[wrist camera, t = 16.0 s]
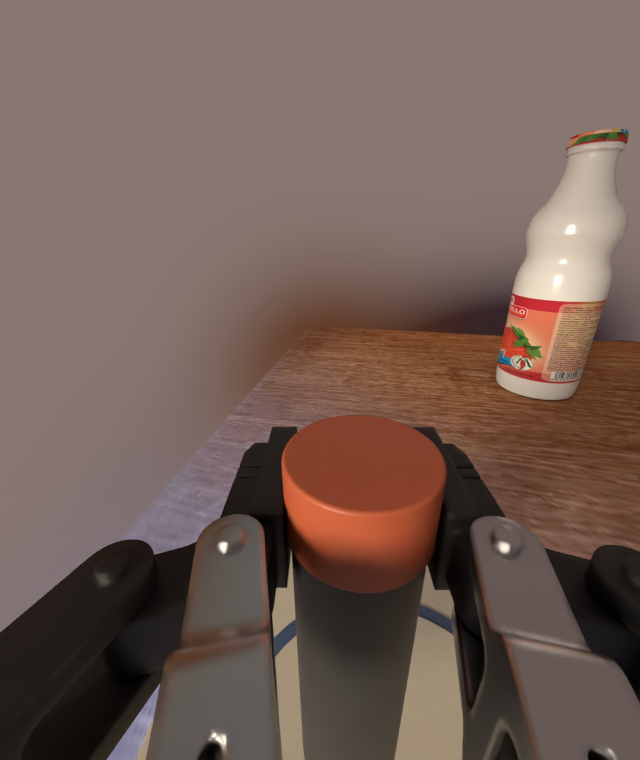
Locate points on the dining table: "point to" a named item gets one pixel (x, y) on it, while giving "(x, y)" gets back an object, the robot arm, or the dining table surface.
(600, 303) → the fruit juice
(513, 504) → the dining table surface
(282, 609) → the paper
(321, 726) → the marker
